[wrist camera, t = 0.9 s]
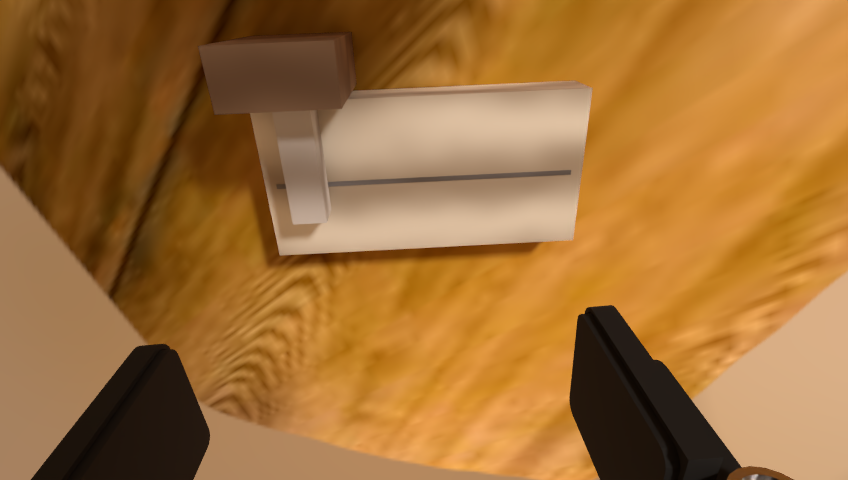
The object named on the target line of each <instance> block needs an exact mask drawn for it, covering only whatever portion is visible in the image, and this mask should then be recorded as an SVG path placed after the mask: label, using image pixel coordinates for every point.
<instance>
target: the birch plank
mask: <svg viewBox="0 0 848 480" xmlns="http://www.w3.org/2000/svg"><path fill="white" fill-rule="evenodd" d="M591 96H592V88H591V87H589V86H586V85H584V84H582V83H579V82H577V81H558V82H535V83H513V84H491V85H469V86H447V87H424V88H402V89H380V90H358V91H352V92H351V94H350V96H349V97H348V99H347V101H346V103H345V104H344V106H343V108H342V109H329V110H317V111H318V118H319V125H320V132H321V139H322V146H323V153H324V160H325V167H326V174H327V181H328V188H329V196H330V203H331V212H330V215H329V218H328V221H327V223H314V224H295V225H293V222H292V217H291V211H290V206H289V201H288V195H287V190H286V185H285V179H284V174H283V169H282V163H281V158H280V153H279V147H278V142H277V137H276V131H275V126H274V121H273V115H272V112H264V113H250V116H251V120H252V125H253V130H254V135H255V139H256V144H257V149H258V154H259V159H260V163H261V168H262V173H263V178H264V182H265V187H266V192H267V197H268V202H269V206H270V211H271V216H272V221H273V225H274V230H275V235H276V240H277V245H278V249H279V254H280V255H299V254H318V253H337V252H356V251H374V250H393V249H412V248H431V247H450V246H469V245H488V244H507V243H526V242H545V241H564V240H573V236H574V228H575V220H576V213H577V205H578V197H579V189H580V182H581V174H582V166H583V158H584V151H585V143H586V135H587V127H588V119H589V112H590V104H591Z"/></svg>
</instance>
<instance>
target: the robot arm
mask: <svg viewBox="0 0 848 480" xmlns="http://www.w3.org/2000/svg"><path fill="white" fill-rule="evenodd" d="M570 407H571V411H572V414H573V417H574V419H575V421H576V424H577V426H578V429H579V431H580V433H581V436H582V438H583V440H584V443H585V445H586V447H587V450H588V452H589V454H590V457H591V459H592V462H593V464H594V466H595V469H596V471H597V473H598V476H599V478H600V480H793V479H791V478H790V477H788V476H785V475H784V474H782V473H779V472H776V471H773V470H770V469H767V468H762V467H751V466H749V467H743V468H742V467H741V466H740V465H739V463H738V462H737V461H736V459H735V458H734V457H733V455H732V454H731V452H730V451H729V450H728V449H727V447H726V446H725V444H724V443H723V442H722V440H721V439H720V438H719V437H718V435H717V434H716V432H715V431H714V430H713V428H712V427H711V426H710V424H709V423H708V422H707V420H706V419H705V418H704V416H703V415H702V414H701V412H700V411H699V410H698V408H697V407H696V406H695V404H694V403H693V402H692V400H691V399H690V398H689V396H688V395H687V394H686V392H685V391H684V390H683V388H682V387H681V385H680V384H679V383H678V381H677V380H676V379H675V377H674V376H673V375H672V373H671V372H670V371H669V369H668V368H667V367H666V366H665V365H664V364H663V363H662V362H661V361H659V360H653V359H652V357H651V356H650V355H649V353H648V352H647V351H646V349H645V348H644V346H643V345H642V344H641V342H640V341H639V339H638V338H637V337H636V335H635V334H634V333H633V331H632V330H631V328H630V327H629V326H628V324H627V323H626V321H625V320H624V319H623V317H622V316H621V315H620V313H619V312H618V310H617V309H616V308H615V307H614V306H612V305H609V306H597V307H588V308H587V309H586V311H585V314H580V315H579V316H578V320H577V330H576V340H575V350H574V360H573V369H572V379H571V389H570ZM209 440H210V432H209V428H208V426H207V423H206V421H205V419H204V416H203V414H202V411H201V409H200V406H199V404H198V402H197V399H196V397H195V394H194V392H193V389H192V387H191V384H190V382H189V380H188V377H187V375H186V372H185V370H184V367H183V365H182V363H181V360H180V358H179V355H178V353H177V352H176V351H175V350H171V349H170V348H169V346H167V345H166V344H157V345H145V346H139V347H136V348H135V349H134V350H133V351H132V352H131V354H130V355H129V356H128V357H127V359H126V360H125V361H124V362H123V364H122V365H121V366H120V367H119V369H118V370H117V371H116V373H115V374H114V375H113V376H112V378H111V379H110V380H109V381H108V383H107V384H106V385H105V387H104V388H103V389H102V390H101V392H100V393H99V394H98V395H97V397H96V398H95V399H94V401H93V402H92V403H91V404H90V406H89V407H88V408H87V409H86V410H85V412H84V413H83V414H82V416H81V417H80V418H79V419H78V421H77V422H76V423H75V425H74V426H73V427H72V428H71V429H70V431H69V432H68V433H67V434H66V436H65V437H64V438H63V440H62V441H61V442H60V443H59V445H58V446H57V447H56V449H55V450H54V451H53V452H52V453H51V455H50V456H49V457H48V459H47V460H46V461H45V462H44V464H43V465H42V466H41V468H40V469H39V470H38V471H37V473H36V474H35V475H34V477H33V478H32V479H31V480H193V479H194V477H195V475H196V472H197V470H198V468H199V465H200V463H201V461H202V459H203V456H204V454H205V452H206V450H207V447H208V445H209Z"/></svg>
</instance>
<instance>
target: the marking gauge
mask: <svg viewBox="0 0 848 480" xmlns="http://www.w3.org/2000/svg"><path fill="white" fill-rule="evenodd" d="M198 49H199V53H200V57H201V61H202V65H203V69H204V73H205V77H206V81H207V85H208V89H209V94H210V98H211V102H212V106H213V110H214V114H215V115H221V114H243V113H264V112H272V115H273V121H274V126H275V131H276V137H277V142H278V147H279V153H280V158H281V163H282V169H283V174H284V179H285V185H286V190H287V195H288V201H289V206H290V211H291V217H292V222H293V225H295V224H314V223H327V221H328V218H329V215H330V212H331V203H330V196H329V188H328V181H327V174H326V167H325V160H324V153H323V146H322V139H321V132H320V125H319V118H318V111H317V110H329V109H342V108H343V106H344V104H345V103H346V101H347V99H348V97H349V96H350V94H351V92H352V91H353V89H354V87H355V86H356V84H357V83H356V73H355V63H354V53H353V43H352V33H351V32H335V33H311V34H287V35H264V36H249V37H243V38H238V39H233V40H227V41H222V42H217V43H211V44H206V45H201V46H198Z"/></svg>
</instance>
